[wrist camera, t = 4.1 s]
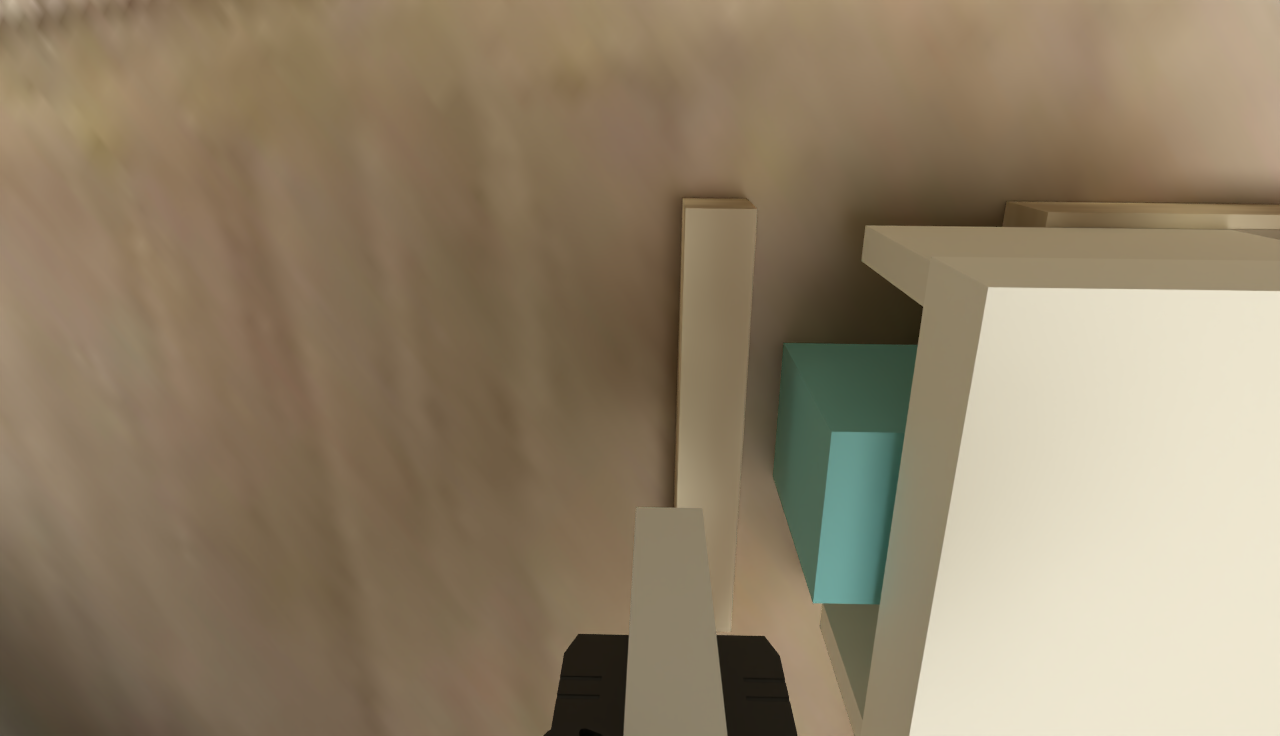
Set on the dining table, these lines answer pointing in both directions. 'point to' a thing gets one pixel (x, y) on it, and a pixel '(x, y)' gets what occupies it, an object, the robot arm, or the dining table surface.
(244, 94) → the dining table surface
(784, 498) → the teal block
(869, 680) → the cream bridge stand
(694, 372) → the beige rail frame
